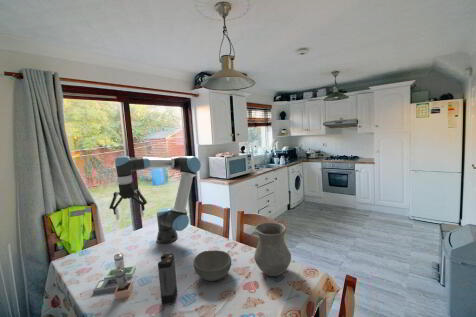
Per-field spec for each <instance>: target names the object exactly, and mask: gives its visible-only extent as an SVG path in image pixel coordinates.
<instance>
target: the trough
mask: <svg viewBox="0 0 476 317" xmlns="http://www.w3.org/2000/svg"><path fill="white" fill-rule="evenodd" d="M124 268H125V271H126V277H127V279H132V278H133V277H134V274H135V273H136V271H137V268H136V265H128V266H124ZM115 272H116V269H115V268H109V270H108V271H107V273H106V274H105V276H103V280H105V279H111V278H116V276H115Z"/></svg>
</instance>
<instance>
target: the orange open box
mask: <svg viewBox="0 0 476 317" xmlns="http://www.w3.org/2000/svg"><path fill="white" fill-rule="evenodd" d="M127 282H128V287H129V288H128V290H123V291H119V290H118V287H117V289H116V291H114V298H115V300H119V299H125V298H130V296H131V295H132V291H133V289H134V285H133V281H127Z"/></svg>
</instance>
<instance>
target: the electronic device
mask: <svg viewBox="0 0 476 317" xmlns="http://www.w3.org/2000/svg"><path fill="white" fill-rule="evenodd" d="M174 255H175V254H174V253H170V252H169V253H164V254H162V255H161V257H160V261H159V262H158V263H157V267H158V268H157V269H158V270H157V271H158V278H159V288H160V289H159V290H160V300H161V304H162V305H163V306H169V305H173V304H174V303H175V302H176V298H177V295H178V285H177V274H176V263H175V262H176V261H175V256H174Z"/></svg>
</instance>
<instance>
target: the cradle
mask: <svg viewBox="0 0 476 317" xmlns="http://www.w3.org/2000/svg"><path fill="white" fill-rule="evenodd" d="M97 282H98V283H97V284H96V285H95V287H94V289H93V290H92V293H93V295H99V294H103V293H105V294H106V293H109V292H115V291H116V289H117V287H118V285H112V286H109V285H110V284H113V283H117V280H116V278H111V279H105V280H104V279H101V280H98V281H97Z"/></svg>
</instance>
